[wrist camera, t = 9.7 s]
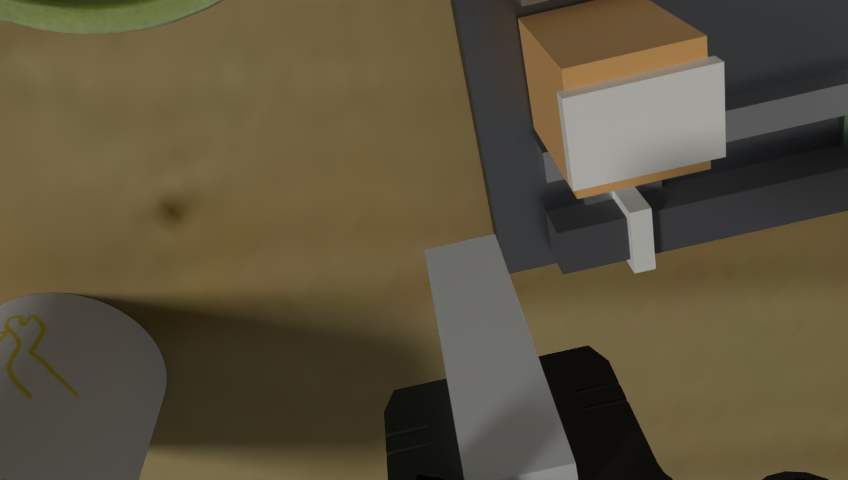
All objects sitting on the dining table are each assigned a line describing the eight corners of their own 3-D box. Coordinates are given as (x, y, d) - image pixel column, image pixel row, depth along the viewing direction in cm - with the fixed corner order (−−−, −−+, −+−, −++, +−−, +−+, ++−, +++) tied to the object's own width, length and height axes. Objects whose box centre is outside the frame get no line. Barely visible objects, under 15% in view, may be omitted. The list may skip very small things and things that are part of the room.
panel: (419, -167, 25) (427, -164, 23) (1040, -314, 25) (1115, -327, 22) (498, 256, 33) (510, 290, 30) (972, 149, 32) (1021, 175, 30)
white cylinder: (87, 261, 31) (-43, 488, 21) (203, 398, 35) (144, 650, 25) (-78, 345, 32) (-279, 600, 22) (53, 469, 36) (-66, 738, 26)
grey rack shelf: (489, -173, 24) (502, -172, 22) (1012, -297, 23) (1072, -306, 22) (552, 259, 31) (566, 288, 29) (949, 170, 31) (989, 193, 29)
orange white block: (512, 19, 26) (559, 77, 21) (640, -11, 26) (723, 39, 21) (528, 128, 28) (575, 209, 23) (648, 101, 28) (726, 175, 23)
